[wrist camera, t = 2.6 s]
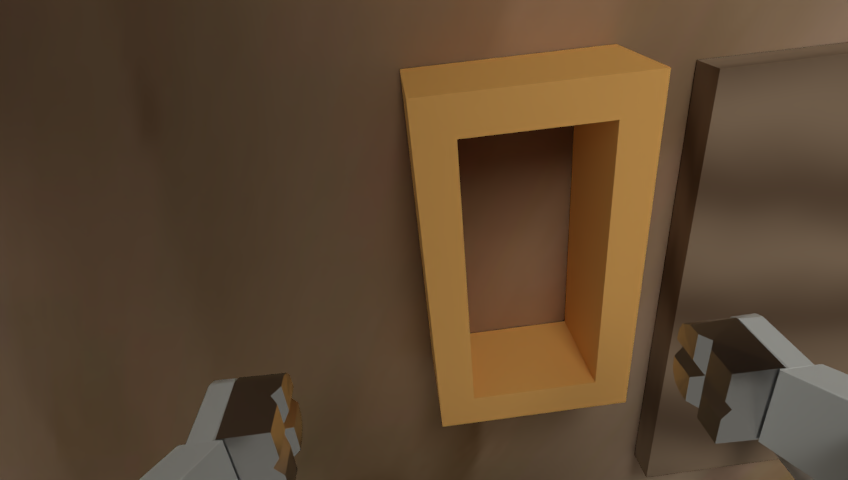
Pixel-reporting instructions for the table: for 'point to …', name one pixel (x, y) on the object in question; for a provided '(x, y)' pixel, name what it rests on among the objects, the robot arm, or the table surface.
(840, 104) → the keeper board
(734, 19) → the table surface
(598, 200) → the orange rectangular frame
